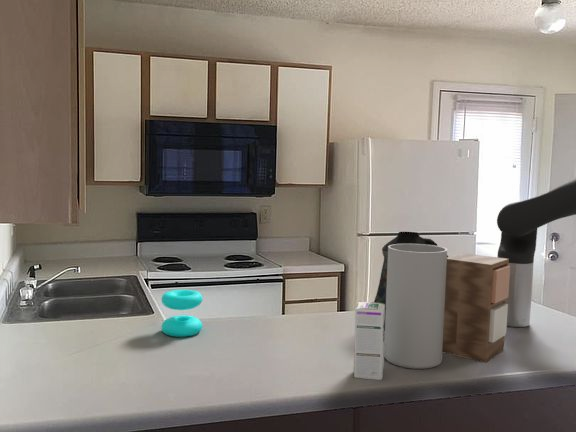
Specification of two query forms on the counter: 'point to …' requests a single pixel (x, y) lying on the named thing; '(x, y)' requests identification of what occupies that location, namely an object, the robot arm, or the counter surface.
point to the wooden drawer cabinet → (470, 307)
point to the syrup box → (369, 340)
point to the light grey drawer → (498, 322)
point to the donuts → (182, 323)
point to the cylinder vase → (415, 305)
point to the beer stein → (400, 239)
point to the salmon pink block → (500, 283)
